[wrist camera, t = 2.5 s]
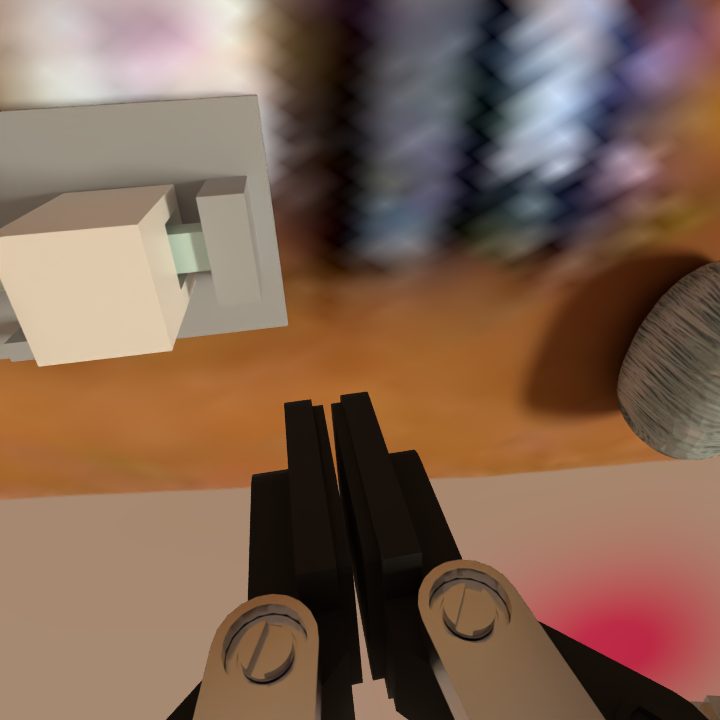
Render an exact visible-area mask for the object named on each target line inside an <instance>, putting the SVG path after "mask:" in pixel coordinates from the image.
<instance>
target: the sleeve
mask: <svg viewBox="0 0 720 720" xmlns="http://www.w3.org/2000/svg"><path fill="white" fill-rule="evenodd" d="M178 224H182V220H181V215H180V211H179V207H178V202H177V198H176V193H175V189H174V185H173V184H169V185H157V186H144V187H132V188H120V189H108V190H95V191H83V192H71V193H63V194H61V195H60V196H58V197H56V198H54V199H52V200H51V201H49V202H47V203H45V204H43V205H42V206H40V207H38V208H36V209H35V210H33V211H31V212H29V213H27V214H26V215H24V216H22V217H20V218H18V219H17V220H15V221H13V222H11V223H9V224H8V225H6V226H4V227H2V228H0V279H1V282H2V284H3V286H4V289H5V291H6V293H7V296H8V298H9V300H10V302H11V305H12V307H13V309H14V312H15V314H16V316H17V318H18V321H19V323H20V325H21V328H22V330H23V332H24V335H25V337H26V339H27V341H28V344H29V346H30V348H31V351H32V353H33V355H34V357H35V360H36V362H37V364H38V367H39V366H48V365H56V364H64V363H73V362H81V361H89V360H98V359H106V358H114V357H123V356H131V355H139V354H148V353H156V352H164V351H172V349H173V346H174V343H175V341H176V338H177V335H178V332H179V329H180V326H181V323H182V320H183V317H184V315H185V312H186V309H187V306H188V303H189V300H190V297H191V294H192V292H193V289H194V286H195V283H196V281H195V276H194V272H190V273H180V274H177V272H176V268H175V264H174V260H173V256H172V252H171V248H170V244H169V240H168V236H167V232H166V228H165V226H167V225H178Z"/></svg>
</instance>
